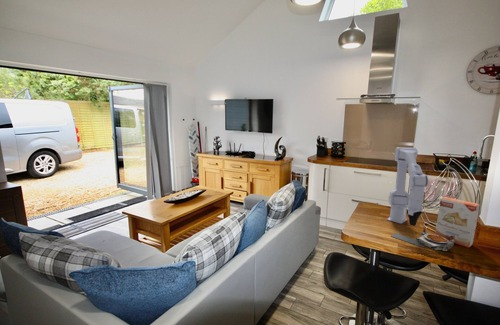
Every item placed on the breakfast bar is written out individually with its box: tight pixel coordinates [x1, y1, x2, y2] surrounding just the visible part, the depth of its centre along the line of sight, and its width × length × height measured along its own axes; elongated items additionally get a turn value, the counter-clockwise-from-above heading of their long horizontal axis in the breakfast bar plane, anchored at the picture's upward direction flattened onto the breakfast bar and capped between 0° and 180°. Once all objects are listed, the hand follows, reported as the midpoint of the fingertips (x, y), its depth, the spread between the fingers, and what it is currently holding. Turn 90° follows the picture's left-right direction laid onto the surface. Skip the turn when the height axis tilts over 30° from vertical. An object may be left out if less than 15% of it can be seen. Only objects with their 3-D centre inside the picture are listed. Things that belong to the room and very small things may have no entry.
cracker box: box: [434, 196, 481, 248], centre depth 123 cm, size 14×6×21 cm, turn 36°
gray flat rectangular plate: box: [390, 232, 426, 248], centre depth 125 cm, size 6×14×1 cm, turn 41°
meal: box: [415, 227, 455, 252], centre depth 121 cm, size 15×4×13 cm
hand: (412, 225), depth 124 cm, fingers closed
